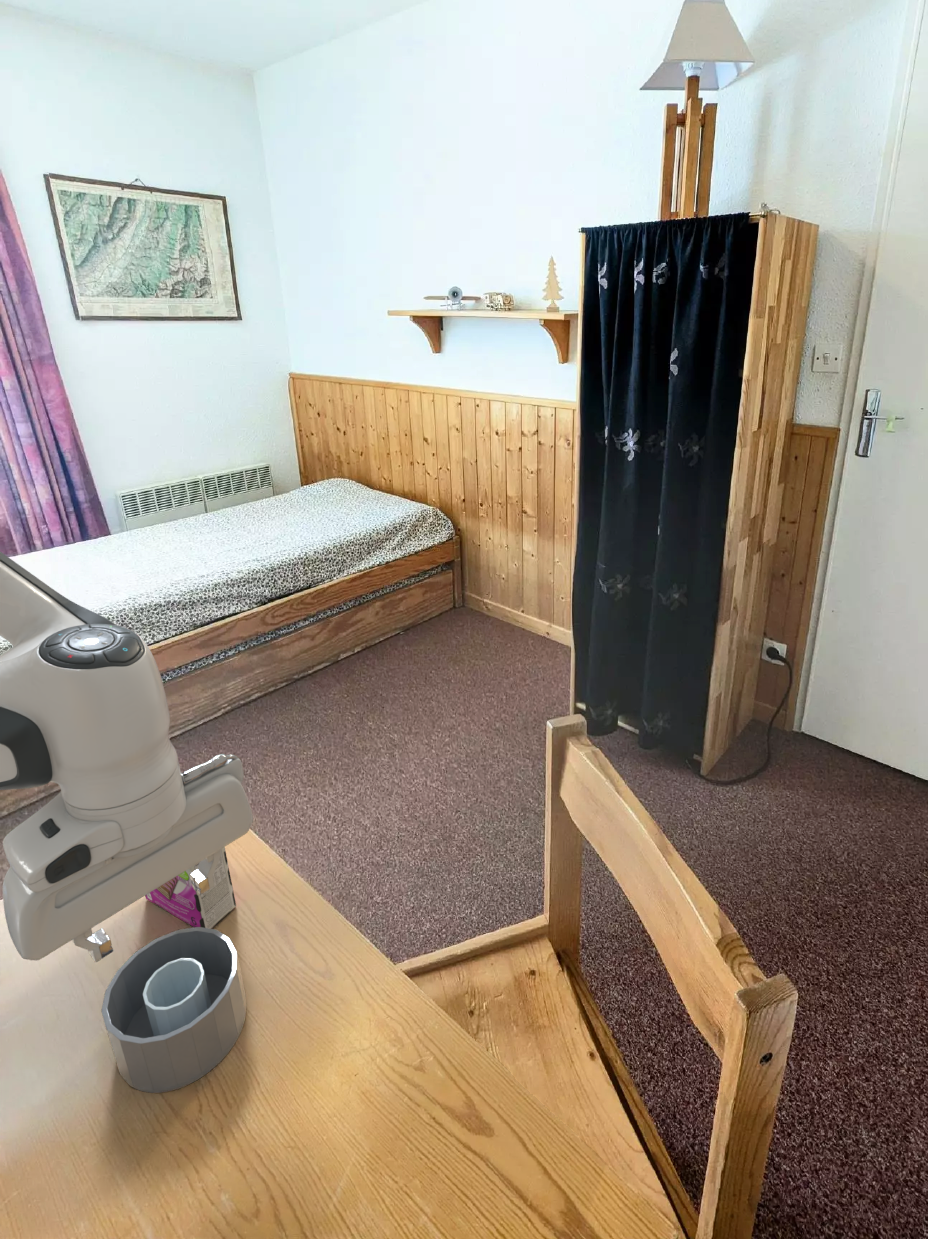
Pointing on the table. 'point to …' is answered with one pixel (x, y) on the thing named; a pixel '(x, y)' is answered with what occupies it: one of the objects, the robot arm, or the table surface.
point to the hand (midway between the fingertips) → (155, 919)
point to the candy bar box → (197, 897)
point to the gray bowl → (191, 1046)
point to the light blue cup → (176, 995)
